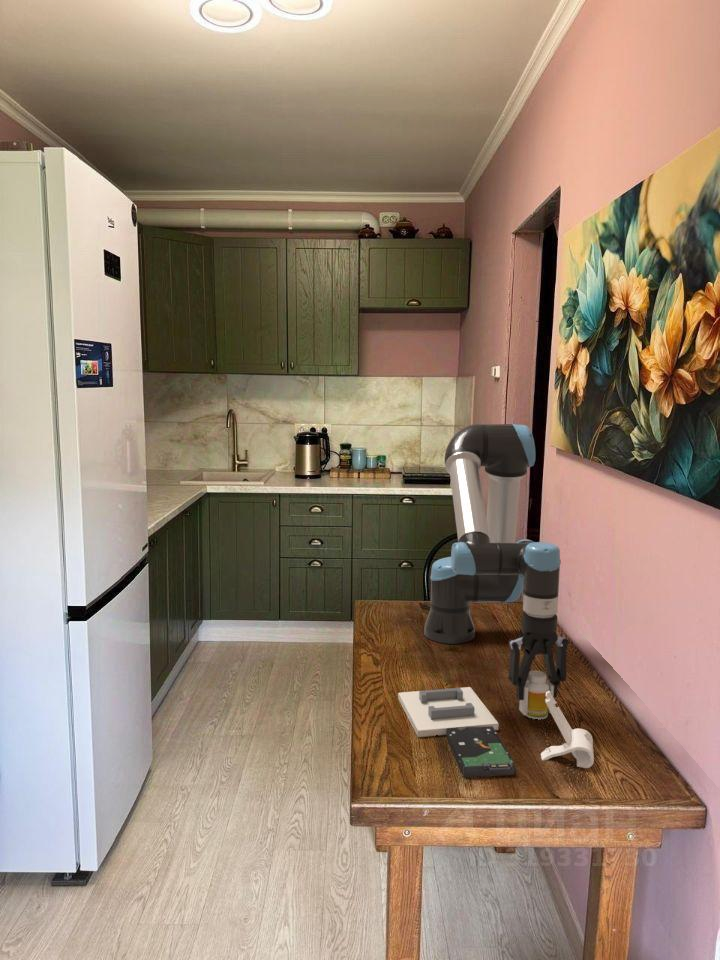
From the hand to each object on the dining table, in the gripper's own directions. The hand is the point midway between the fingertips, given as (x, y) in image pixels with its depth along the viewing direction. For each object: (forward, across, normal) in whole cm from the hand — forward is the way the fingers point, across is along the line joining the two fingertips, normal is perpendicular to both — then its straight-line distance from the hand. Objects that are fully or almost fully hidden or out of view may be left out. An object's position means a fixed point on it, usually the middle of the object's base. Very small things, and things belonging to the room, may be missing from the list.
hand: (535, 711), depth 149 cm
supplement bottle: (+1, 0, 0) cm, 1 cm away
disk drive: (+2, -19, -14) cm, 23 cm away
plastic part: (+1, -1, -17) cm, 17 cm away
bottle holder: (+1, -20, +4) cm, 20 cm away
